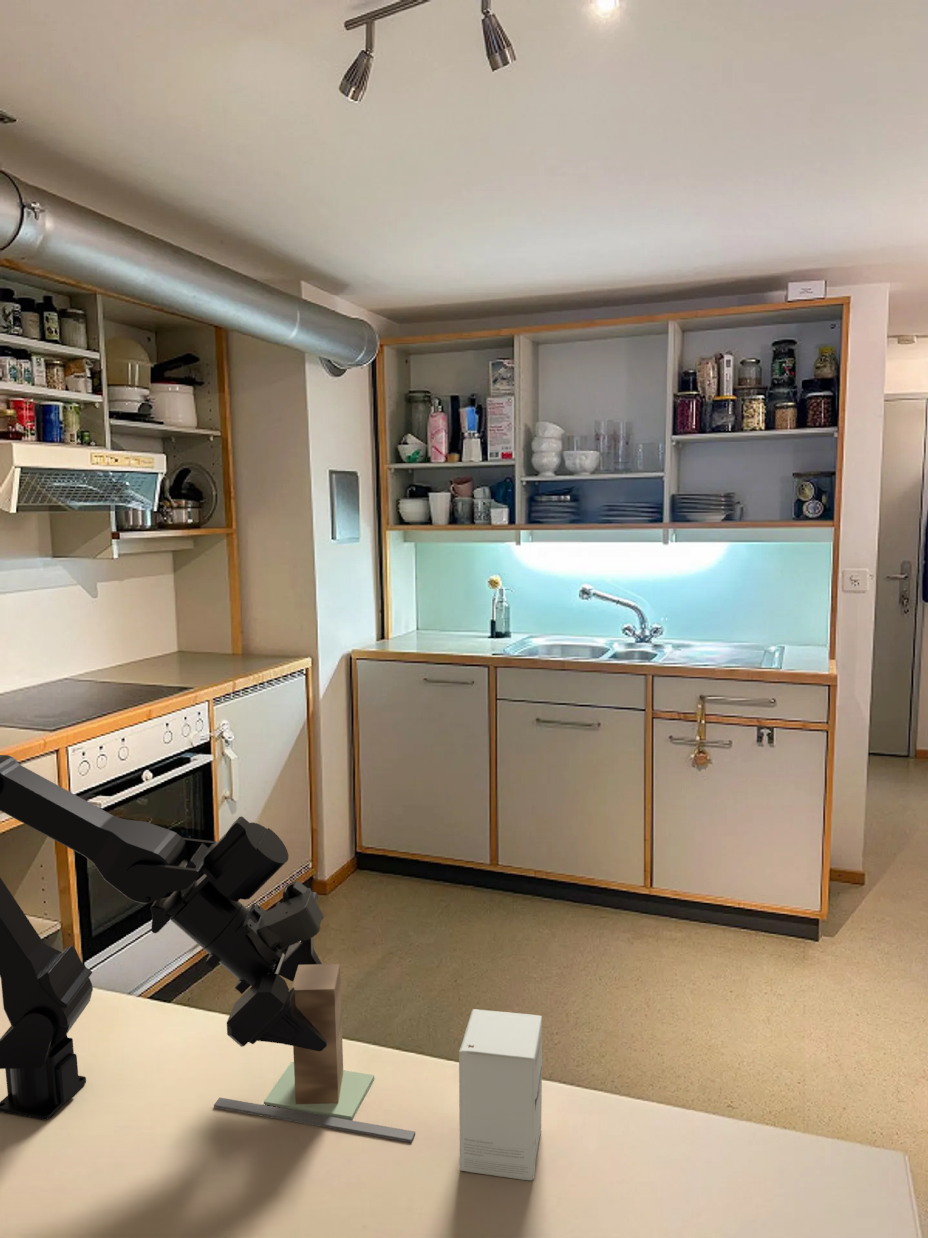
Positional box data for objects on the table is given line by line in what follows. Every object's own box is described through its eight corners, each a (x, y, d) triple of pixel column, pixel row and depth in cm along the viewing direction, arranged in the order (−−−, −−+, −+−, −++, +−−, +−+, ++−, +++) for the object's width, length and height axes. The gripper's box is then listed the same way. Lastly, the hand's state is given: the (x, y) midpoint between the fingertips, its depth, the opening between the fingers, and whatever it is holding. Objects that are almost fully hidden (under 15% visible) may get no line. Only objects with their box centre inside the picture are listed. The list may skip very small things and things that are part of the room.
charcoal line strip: (213, 1107, 94) (213, 1105, 94) (219, 1100, 95) (219, 1097, 95) (411, 1142, 89) (411, 1140, 89) (415, 1134, 90) (415, 1131, 90)
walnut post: (295, 1104, 94) (290, 990, 92) (302, 1074, 99) (298, 965, 97) (338, 1103, 94) (334, 989, 92) (343, 1072, 99) (339, 963, 97)
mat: (263, 1105, 94) (263, 1101, 94) (291, 1065, 101) (291, 1062, 101) (351, 1120, 92) (351, 1116, 92) (374, 1078, 99) (374, 1075, 98)
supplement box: (534, 1183, 83) (534, 1060, 82) (457, 1172, 85) (456, 1050, 83) (543, 1129, 91) (544, 1014, 89) (472, 1119, 92) (471, 1006, 90)
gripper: (254, 916, 84) (374, 1022, 85) (290, 839, 102) (388, 928, 104) (175, 995, 85) (295, 1099, 86) (225, 905, 103) (323, 992, 105)
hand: (330, 1021), depth 95 cm, fingers open, 9 cm apart
